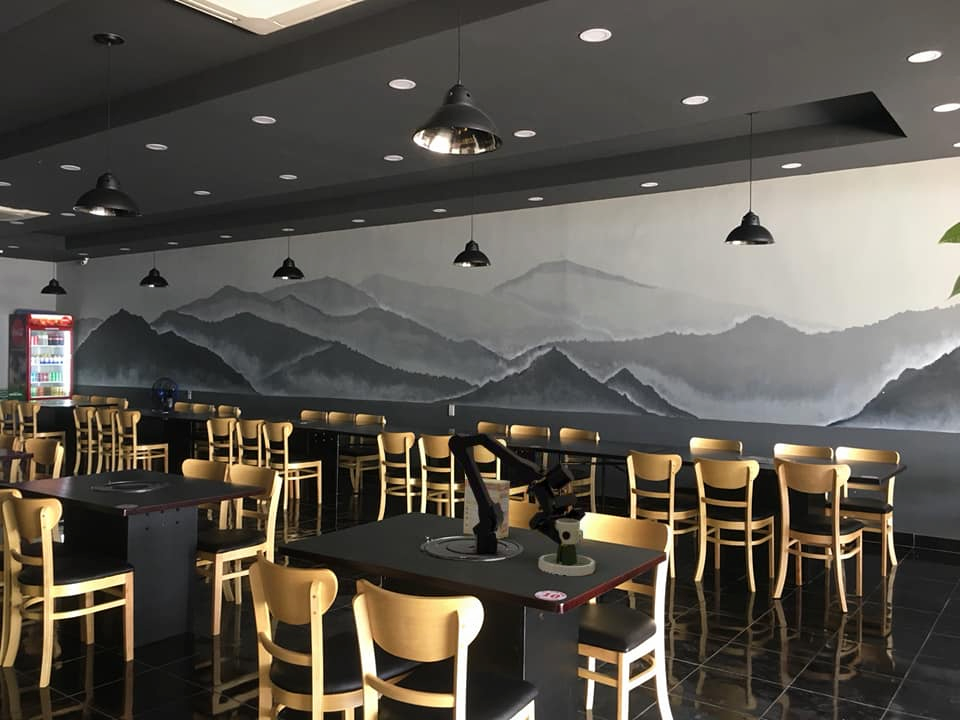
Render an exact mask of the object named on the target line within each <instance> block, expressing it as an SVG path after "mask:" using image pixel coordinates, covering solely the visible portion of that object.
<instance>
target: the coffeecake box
mask: <svg viewBox="0 0 960 720" xmlns="http://www.w3.org/2000/svg"><path fill="white" fill-rule="evenodd" d="M464 479H465V480H464V504H463V505H464V507H463V508H464V510H463V531H462V532H463V534H467V535H472V536H475V535H474V533H473V527H474V526H475V525H477V524H478V523H479V522H480V521H479V517H478V504H477V502H476V499H475V497H474V494H473V492H472V490H471V487H470V485H469V482H468V480H467V477H466V478H464ZM482 479H483V481H484V483H485V486H486V488H487V491H488V493H489V495H490V498H491V499H492V501H493V502H494V503H498V502H499V503H500V505H501V509H502V511H503V512H504V514H503V516H504V521H503V524H502V525H501V526H499V527H498V530H497V532H495V533H496V538H497V539H498V540H500V539H505V538H507V537H509V523H510V522H509V521H510V489H511V486H510V485H511V480H503V479H502V480H501V479H493V478H486V477H482ZM504 537H505V538H504Z"/></svg>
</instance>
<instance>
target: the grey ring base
mask: <svg viewBox="0 0 960 720" xmlns="http://www.w3.org/2000/svg"><path fill="white" fill-rule="evenodd" d="M576 555H577V563H576V564H574V565H571V566H566V565H561V564H562V563H561V562H560V561H559V564H557V563H556V557H557V553H550V554H544V555H541V556H540V557H539V558H538V568H539V569H540V570H541V571H542V572H544V571H545V572H544V573H547V572H548V574H551V573H552V574H551V575H555V574H558V575H557V576H563V575H566V576H565V577H582V576H583V577H584V576H587V575H591V574H593V573H594V572H595V570H596V560H594V559H592V558H591V557H588V556H584V555H581V554H576Z"/></svg>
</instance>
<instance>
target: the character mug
mask: <svg viewBox="0 0 960 720" xmlns="http://www.w3.org/2000/svg"><path fill="white" fill-rule="evenodd" d="M580 523H581V521H578V520H575V519H557V520H556V522H555V523H554V525H555V528H556V530H557V532H558V534H559V536H560V538H561V541H562V544H561V545H559V544H558V545H557V551H556V554H557V557H556V563H557V564H559V561H560V562H561V563H562V564H561V565H566V566H571V565H574V564H576V563H577V555H578V554H577V548H576V544H579V543H580V542H582V541H583V540H584V530H583V529H580V527H581V524H580ZM579 533H580V537H579ZM579 541H580V542H579Z"/></svg>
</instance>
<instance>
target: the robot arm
mask: <svg viewBox="0 0 960 720" xmlns="http://www.w3.org/2000/svg"><path fill="white" fill-rule="evenodd" d="M477 446H482V447H483V448H484V449H486V450H487V451H488V452H489V453H491V454H492V455H493V456H495V457H496V458H497V459H499V460H500V461H502V462H503V463H504V464H506V465H507V466H508V467H509V468H510V469H511V470H512V472H513V473H514V475H515V476H516V477H517V479H519V480H520V481H521V482H522V483H523V484H532V483H534V484H533V485H531V486H530V485H528V486H527V489H526V491H525V494H526V495H528V496H530V497H532V496H533V497H535V499H536V502H537V503H538V504H539V505H538V507H537V509H538V511H537V512H535V513H534V514H533V516H532V517H531V518H530V519H529V521H528V526H529V528H530V530H531V531H536V530H537V532H538V533H541V534H543V535H545V536H546V537H548V538H549V539H551V541H554V542H555V543H556V544H557V545H558V546H559V545H561V544H562V541H561V538H560V536H559V534H558V532H557V530H556V528H555V525H554V524H555V523H556V520H557V519H575V520H578V521H580V522H581V521H582V520H583V519H584V517H586V514H587V513H586V512H585V510H584V509H583V508H582V507H581V508H580V507H576V508H571V509H570V511H568V510H569V508H568V507H572V506H576V503H577V502H578V497H577V495H576V494H575V492H574V491H573V492H569V493H566V494H561V495H556V493H555V490H557V491H561V490H563V489H564V488H566V487H567V486H568V485H569V484H570V483H573V481H575V477H574V475H573V473H572V471H571V470H570V469H568V467H566V466H565V465H564V464H563V463H562V462H558V463H557V464H556V465H554V467H553V468H551V469H550V470H546V469H542V468H541V467H540V465H538V464H536V463H535V462H532V461H530V460H529V459H526V458H524V457H521V456H519V455H518V454H516V453H515V452H513V450H511V449H510V448H508V447H507V446H506V445H504V444H503V443H502V442H501V441H499V440H498V439H497V438H495V437H494V436H492V434H491V433H490V432H487V431H484V432H480V433H477V434H471V435H469V434H466V433H457V434H454V435H451V436H450V437H449V439H448V442H447V447H448V449H449V451H450V452H451V454H452V455H453V456H454V458H455V459H456V460H457V461H458V462H459V463H460V466H461V467H462V471H463V472H464V474H465V477H466V478H467V480H468V482H469V485H470V487H471V490H472V492H473V494H474V497H475V499H476V502H477V504H478V517H479V521H480V522H479V523H478V524H477V525H475V526H474V527H473V533H474V535H473V536H474V548H473V549H472V551H473V552H474V553H475V554H476V555H477V554H478V556H480V555H479V554H496V555H497V554H498V545H499V544H498V542H499V539H497V538H496V533H495V532H497V530H498V527H499V526H501V525H502V524H503V521H504V516H503V514H504V512H503V511H502V509H501V505H500V503H499V502H498V503H494V502H493V501H492V499H491V498H490V495H489V493H488V491H487V488H486V486H485V483H484V481H483V479H482V478H483V476H482V474H481V471H480V469H479V467H478V464H477V461H476V460H475V449H474V448H475V447H477ZM567 511H568V513H565V512H567ZM579 537H580V533H579ZM580 542H581V541H579V542H578V543H580Z"/></svg>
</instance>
